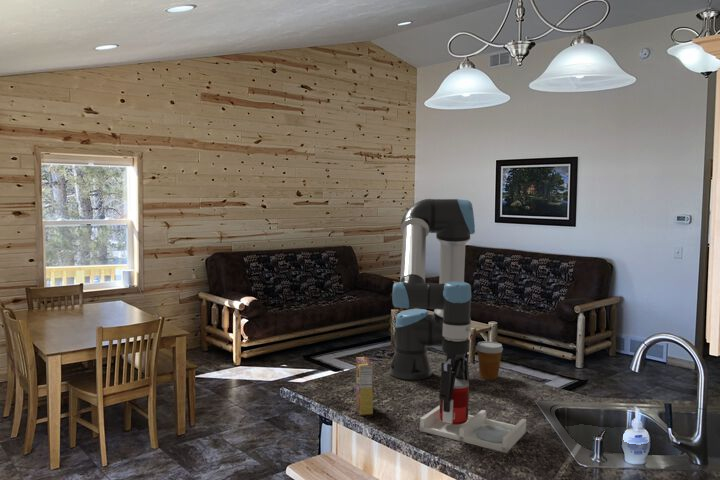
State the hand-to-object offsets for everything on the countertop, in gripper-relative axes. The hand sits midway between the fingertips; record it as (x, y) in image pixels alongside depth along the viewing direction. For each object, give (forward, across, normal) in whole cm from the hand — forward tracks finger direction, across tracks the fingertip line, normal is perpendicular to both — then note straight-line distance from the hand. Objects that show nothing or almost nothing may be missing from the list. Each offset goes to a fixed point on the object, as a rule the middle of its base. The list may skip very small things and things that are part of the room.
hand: (453, 417), depth 171 cm
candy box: (+4, -1, +29) cm, 29 cm away
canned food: (+1, 0, 0) cm, 1 cm away
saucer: (+3, 0, -12) cm, 12 cm away
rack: (+4, 0, -6) cm, 7 cm away
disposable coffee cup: (+4, +52, +9) cm, 53 cm away
